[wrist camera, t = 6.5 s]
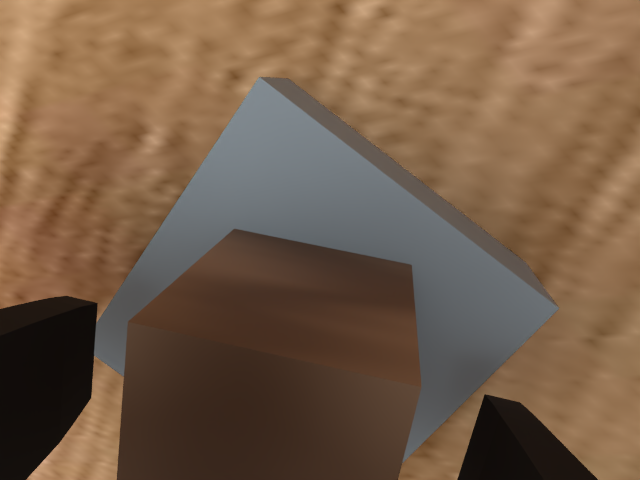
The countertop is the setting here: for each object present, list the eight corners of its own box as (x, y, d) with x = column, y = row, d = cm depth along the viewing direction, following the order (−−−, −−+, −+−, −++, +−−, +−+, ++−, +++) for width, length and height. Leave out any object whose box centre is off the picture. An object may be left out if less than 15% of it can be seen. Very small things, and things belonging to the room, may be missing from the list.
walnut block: (412, 264, 12) (421, 386, 7) (375, 420, 13) (362, 616, 8) (234, 228, 12) (127, 321, 7) (214, 383, 13) (111, 550, 8)
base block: (522, 258, 15) (559, 308, 12) (347, 443, 17) (335, 528, 14) (290, 78, 14) (259, 77, 11) (143, 294, 17) (81, 346, 13)
